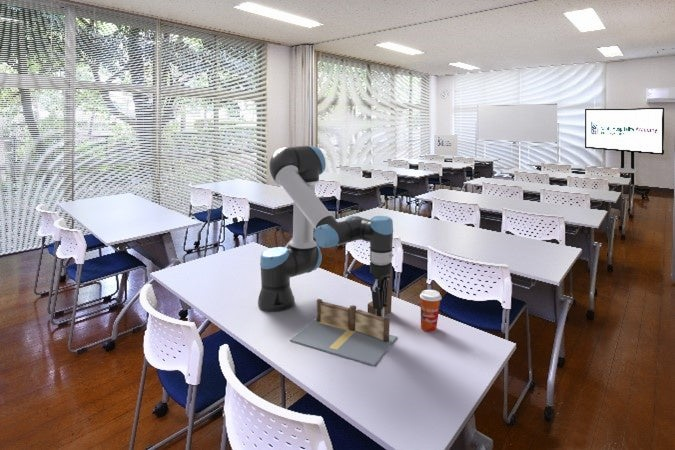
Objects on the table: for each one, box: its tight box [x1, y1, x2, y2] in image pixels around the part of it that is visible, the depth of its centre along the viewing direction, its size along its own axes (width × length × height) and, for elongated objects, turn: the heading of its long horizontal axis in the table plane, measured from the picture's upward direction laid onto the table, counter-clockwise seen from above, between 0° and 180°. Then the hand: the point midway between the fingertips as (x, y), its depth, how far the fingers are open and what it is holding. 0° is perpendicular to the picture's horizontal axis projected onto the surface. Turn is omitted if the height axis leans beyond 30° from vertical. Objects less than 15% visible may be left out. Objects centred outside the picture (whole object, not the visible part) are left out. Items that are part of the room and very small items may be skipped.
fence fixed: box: [316, 298, 357, 331], centre depth 154 cm, size 16×2×9 cm, turn 62°
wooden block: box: [367, 269, 394, 315], centre depth 163 cm, size 9×4×18 cm, turn 125°
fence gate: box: [355, 309, 391, 342], centre depth 146 cm, size 14×2×8 cm, turn 54°
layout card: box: [289, 318, 398, 367], centre depth 146 cm, size 32×20×1 cm, turn 62°
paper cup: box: [419, 289, 443, 333], centre depth 152 cm, size 8×8×14 cm
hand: (379, 324), depth 147 cm, fingers closed
